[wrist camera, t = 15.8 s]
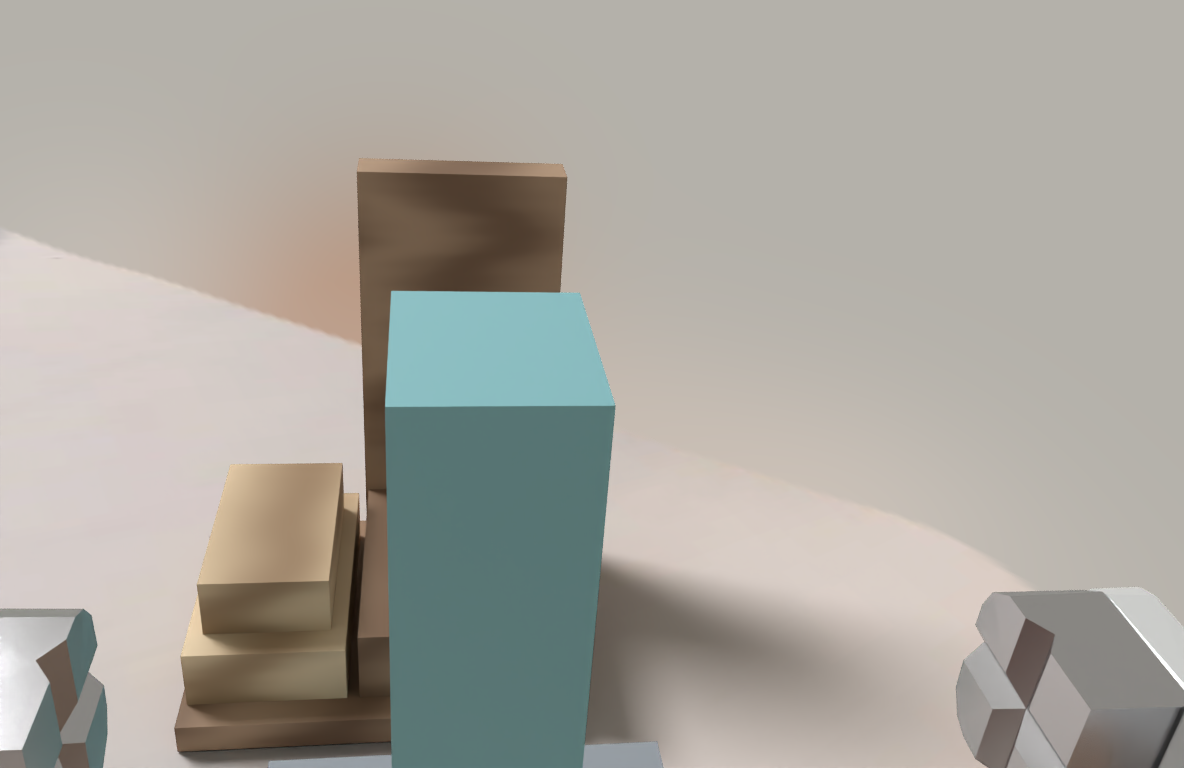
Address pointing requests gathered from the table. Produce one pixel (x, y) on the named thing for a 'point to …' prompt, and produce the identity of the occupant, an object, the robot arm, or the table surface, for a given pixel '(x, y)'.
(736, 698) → the table surface
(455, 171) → the walnut rack
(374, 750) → the table surface
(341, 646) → the lower oak offcut
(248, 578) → the upper oak offcut
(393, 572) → the tall teal block
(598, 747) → the slate mat
